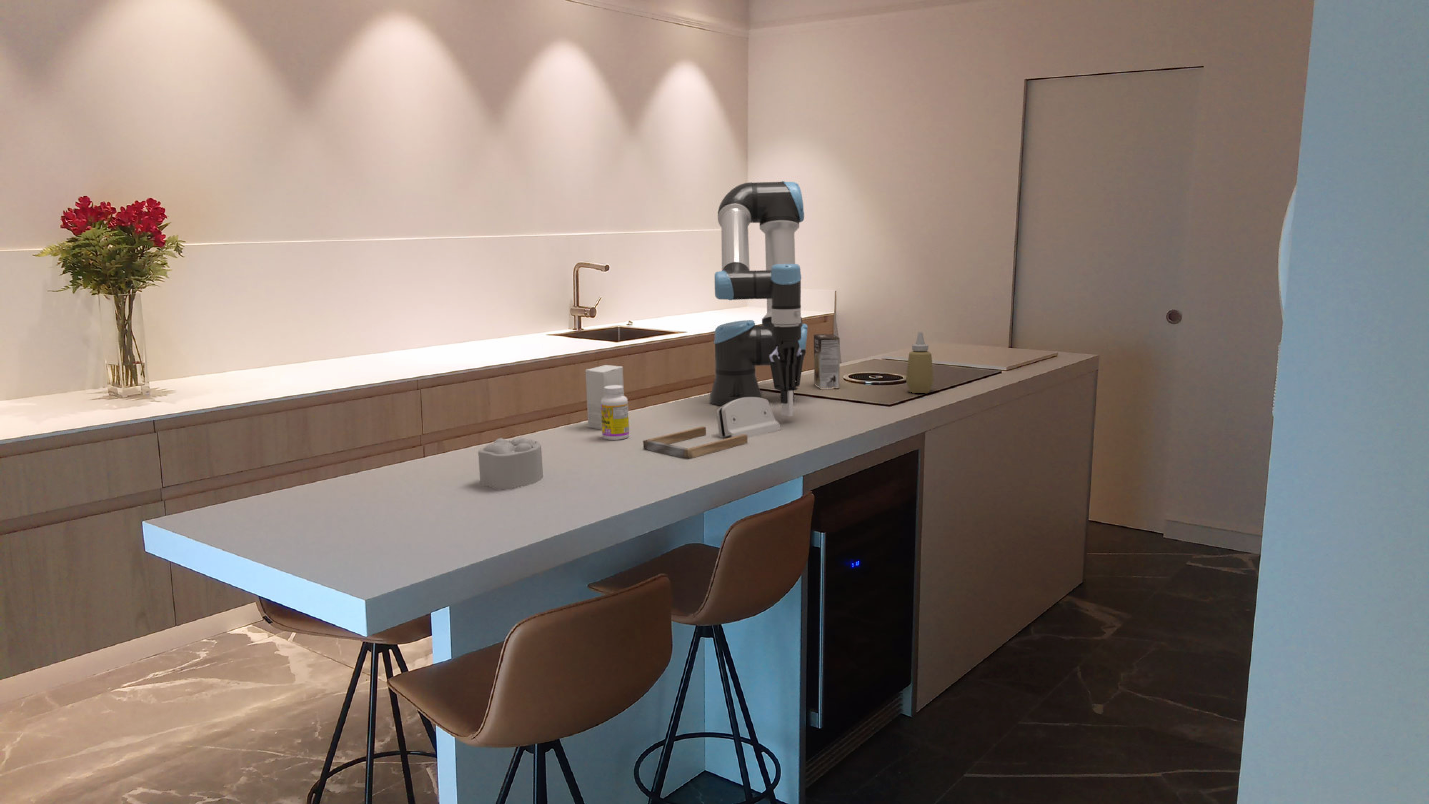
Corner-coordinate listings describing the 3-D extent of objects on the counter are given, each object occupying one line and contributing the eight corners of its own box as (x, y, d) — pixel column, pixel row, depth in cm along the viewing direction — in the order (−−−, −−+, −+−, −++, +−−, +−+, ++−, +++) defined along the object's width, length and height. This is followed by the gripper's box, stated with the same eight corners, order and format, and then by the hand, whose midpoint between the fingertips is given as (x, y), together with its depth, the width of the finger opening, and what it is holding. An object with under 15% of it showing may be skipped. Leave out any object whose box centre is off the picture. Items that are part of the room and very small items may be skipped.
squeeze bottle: (912, 389, 292) (913, 330, 289) (937, 391, 287) (938, 331, 284) (901, 393, 286) (901, 333, 282) (926, 395, 281) (927, 334, 277)
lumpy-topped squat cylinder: (474, 483, 199) (471, 443, 198) (523, 470, 209) (521, 431, 207) (505, 492, 192) (502, 450, 191) (555, 477, 202) (552, 437, 200)
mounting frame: (643, 448, 225) (643, 440, 225) (702, 434, 239) (702, 426, 238) (688, 459, 215) (688, 450, 214) (747, 443, 228) (747, 434, 228)
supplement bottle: (599, 436, 239) (596, 385, 237) (624, 433, 242) (622, 383, 239) (607, 441, 233) (604, 390, 231) (632, 438, 236) (630, 387, 233)
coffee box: (813, 384, 304) (813, 334, 301) (833, 384, 304) (833, 333, 301) (819, 389, 295) (819, 337, 292) (840, 389, 295) (840, 337, 292)
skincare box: (608, 422, 256) (605, 364, 253) (627, 424, 252) (624, 366, 249) (586, 428, 249) (583, 368, 246) (605, 430, 245) (603, 370, 242)
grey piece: (732, 440, 231) (722, 400, 232) (720, 444, 235) (710, 404, 235) (781, 429, 242) (772, 391, 242) (769, 433, 245) (759, 395, 246)
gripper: (781, 328, 238) (782, 421, 242) (813, 323, 247) (814, 412, 252) (758, 326, 243) (760, 417, 248) (791, 321, 252) (792, 409, 257)
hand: (787, 415), depth 250 cm, fingers closed
